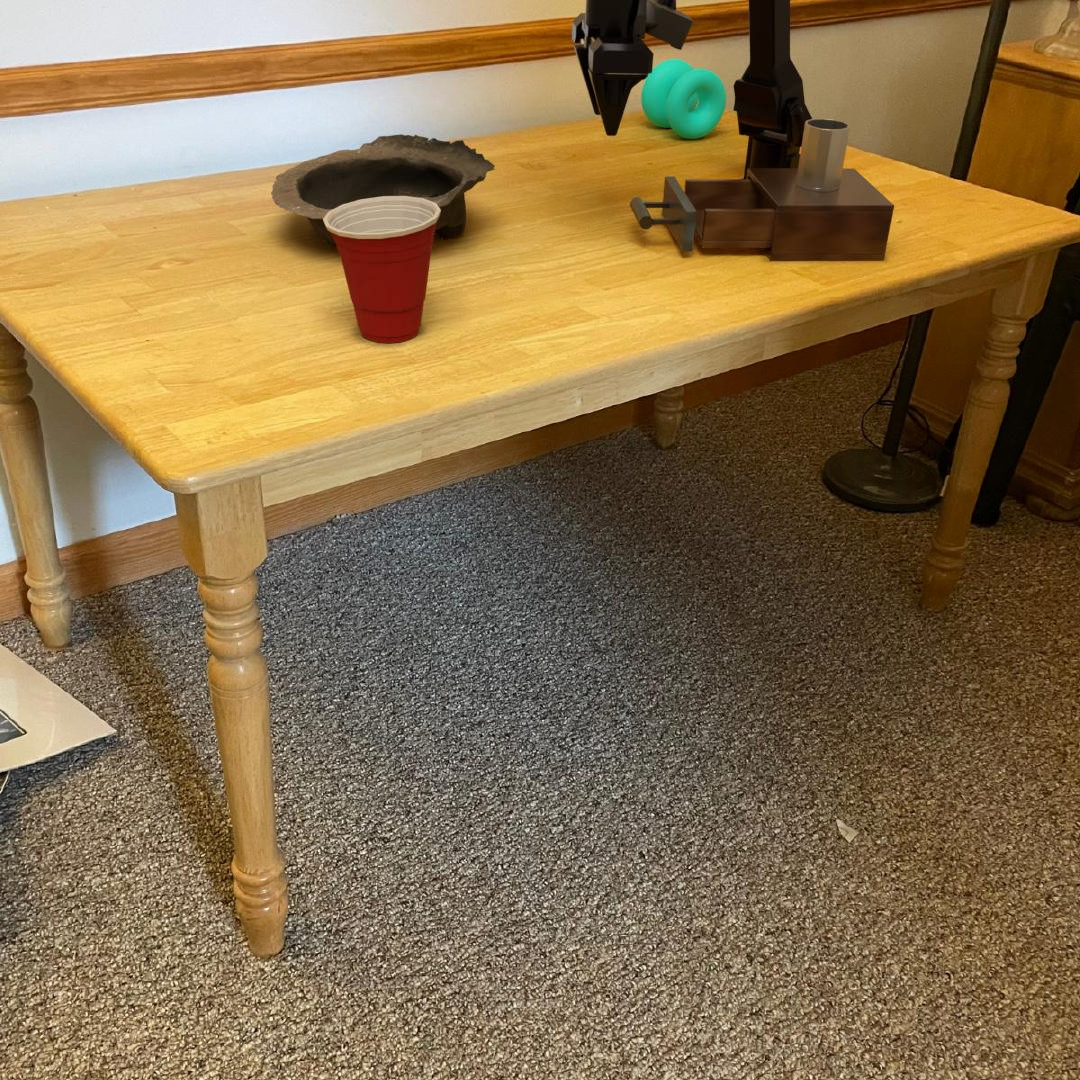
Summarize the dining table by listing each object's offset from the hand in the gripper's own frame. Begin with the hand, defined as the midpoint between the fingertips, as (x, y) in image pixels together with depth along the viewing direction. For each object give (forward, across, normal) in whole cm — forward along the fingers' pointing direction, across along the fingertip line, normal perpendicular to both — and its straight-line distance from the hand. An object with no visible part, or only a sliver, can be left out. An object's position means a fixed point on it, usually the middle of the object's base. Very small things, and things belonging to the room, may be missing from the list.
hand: (605, 124), depth 131 cm
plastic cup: (+14, -26, +24) cm, 38 cm away
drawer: (+12, 0, -13) cm, 18 cm away
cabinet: (+13, 0, -26) cm, 29 cm away
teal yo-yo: (+13, +48, -19) cm, 54 cm away
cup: (+7, 0, -26) cm, 26 cm away
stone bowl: (+14, +2, +25) cm, 29 cm away
